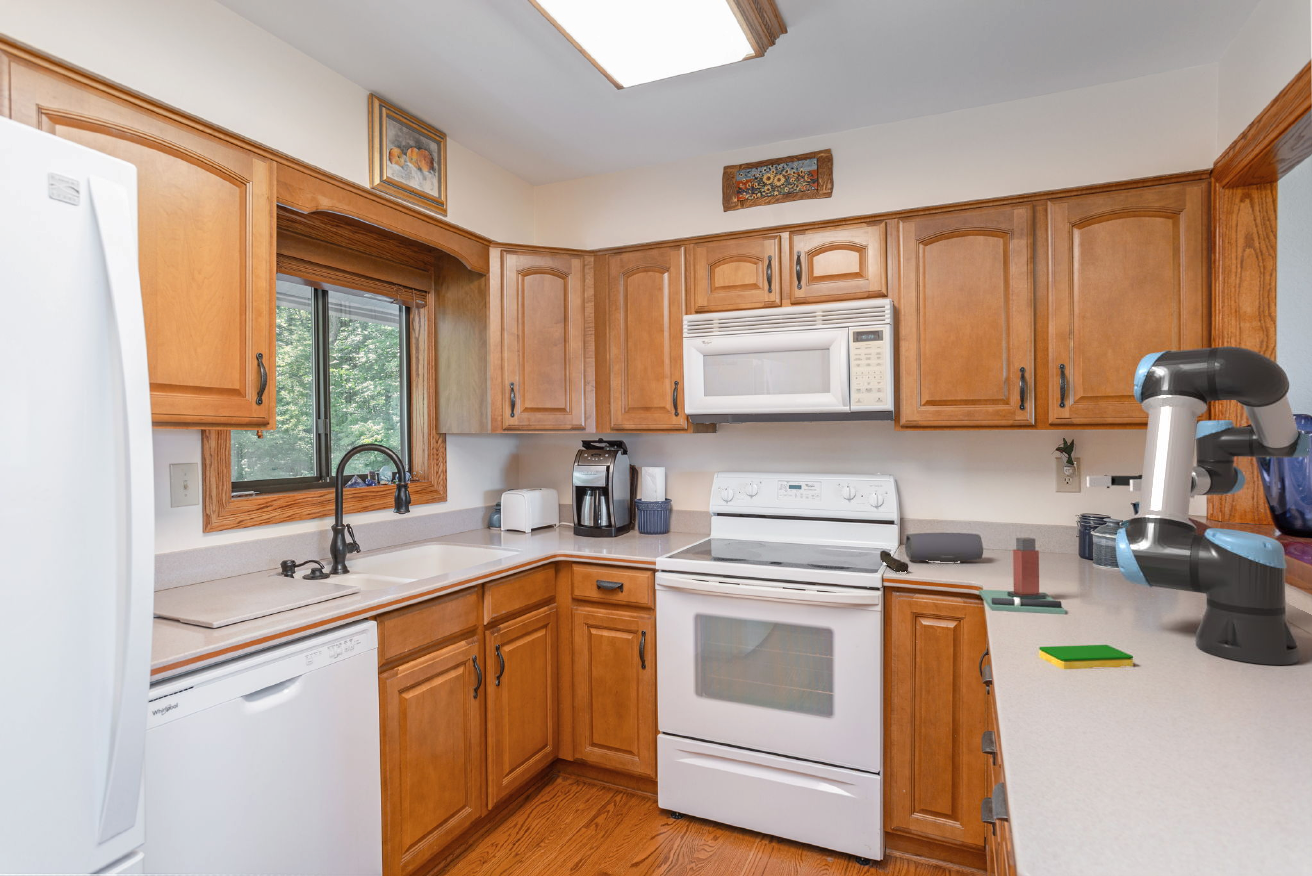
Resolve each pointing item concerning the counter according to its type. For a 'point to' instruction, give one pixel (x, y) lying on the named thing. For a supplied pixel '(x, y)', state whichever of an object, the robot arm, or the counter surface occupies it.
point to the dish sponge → (1085, 656)
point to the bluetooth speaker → (944, 546)
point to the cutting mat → (1020, 603)
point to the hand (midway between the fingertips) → (1108, 483)
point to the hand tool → (893, 562)
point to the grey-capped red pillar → (1026, 570)
